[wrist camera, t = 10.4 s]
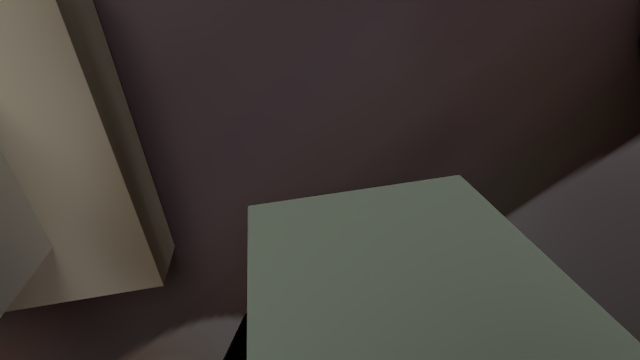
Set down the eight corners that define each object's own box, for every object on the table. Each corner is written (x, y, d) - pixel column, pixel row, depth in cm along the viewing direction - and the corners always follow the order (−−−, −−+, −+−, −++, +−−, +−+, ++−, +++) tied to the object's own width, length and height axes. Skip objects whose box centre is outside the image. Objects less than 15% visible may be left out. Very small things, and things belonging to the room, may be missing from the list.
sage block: (459, 174, 9) (667, 367, 4) (440, 319, 11) (561, 534, 7) (248, 206, 8) (246, 462, 4) (276, 350, 11) (294, 607, 6)
